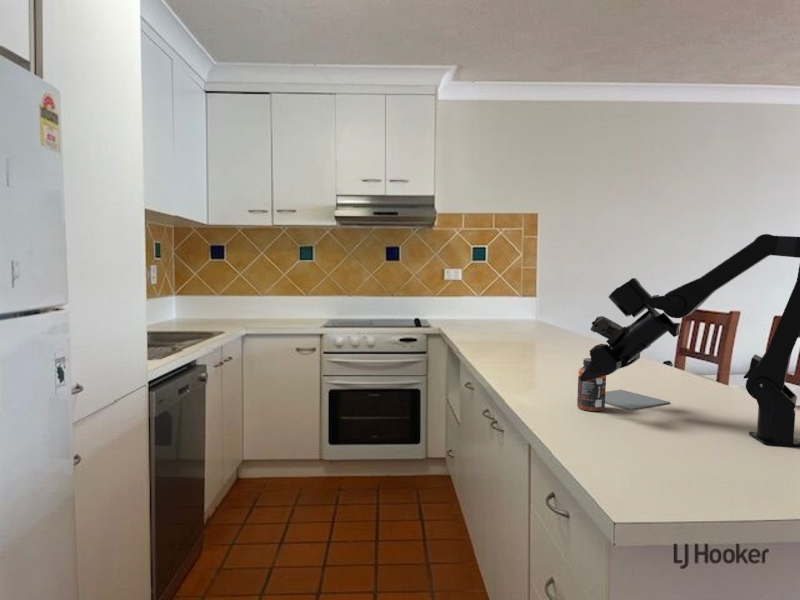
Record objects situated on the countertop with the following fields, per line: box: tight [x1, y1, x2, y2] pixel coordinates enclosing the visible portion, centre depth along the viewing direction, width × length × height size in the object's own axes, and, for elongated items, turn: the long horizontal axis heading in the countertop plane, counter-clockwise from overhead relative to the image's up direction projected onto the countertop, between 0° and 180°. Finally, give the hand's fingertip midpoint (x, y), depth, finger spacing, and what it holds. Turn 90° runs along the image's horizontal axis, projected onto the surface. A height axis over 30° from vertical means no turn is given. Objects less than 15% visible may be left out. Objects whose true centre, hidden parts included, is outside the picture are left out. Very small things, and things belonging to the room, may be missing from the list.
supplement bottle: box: [576, 357, 607, 412], centre depth 124 cm, size 6×6×11 cm
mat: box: [605, 389, 671, 411], centre depth 132 cm, size 14×14×1 cm
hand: (588, 376), depth 124 cm, fingers open, 9 cm apart
